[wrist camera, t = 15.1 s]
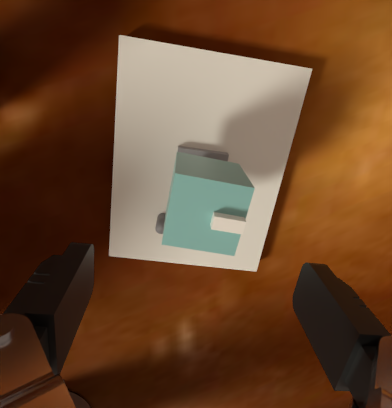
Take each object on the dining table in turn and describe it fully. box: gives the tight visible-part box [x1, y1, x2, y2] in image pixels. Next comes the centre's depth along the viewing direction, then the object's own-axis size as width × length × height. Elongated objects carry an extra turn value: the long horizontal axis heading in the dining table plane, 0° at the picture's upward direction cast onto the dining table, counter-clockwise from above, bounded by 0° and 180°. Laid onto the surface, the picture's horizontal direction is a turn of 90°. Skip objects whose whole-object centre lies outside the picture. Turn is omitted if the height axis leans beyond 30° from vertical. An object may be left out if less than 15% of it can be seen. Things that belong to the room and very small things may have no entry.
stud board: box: [109, 35, 312, 272], centre depth 24 cm, size 18×14×5 cm
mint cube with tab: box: [162, 152, 255, 256], centre depth 19 cm, size 4×4×6 cm
